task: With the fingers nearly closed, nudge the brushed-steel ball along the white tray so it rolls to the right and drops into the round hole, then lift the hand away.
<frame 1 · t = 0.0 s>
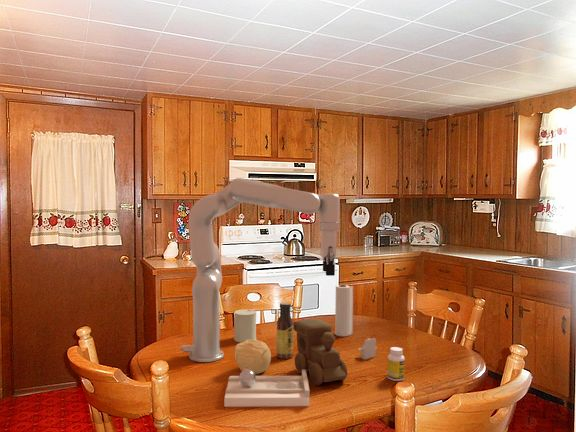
hand: (328, 273, 170), 31 cm above the table, fingers open, 9 cm apart
architectural model: (368, 359, 171), on the table
can: (245, 339, 191), on the table
white tray: (267, 394, 138), on the table
supplement bottle: (395, 378, 151), on the table
sauce bottle: (284, 357, 171), on the table
wooden toy train: (319, 376, 152), on the table
sculpture: (253, 371, 157), on the table
steel ball: (247, 377, 137), point 5 cm above the table, touching white tray
paper towel roll: (343, 335, 199), on the table
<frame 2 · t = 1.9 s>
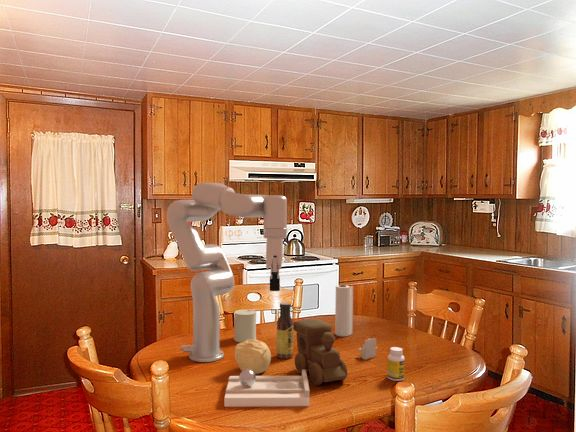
hand: (274, 288, 150), 29 cm above the table, fingers open, 3 cm apart
nothing on the table moved.
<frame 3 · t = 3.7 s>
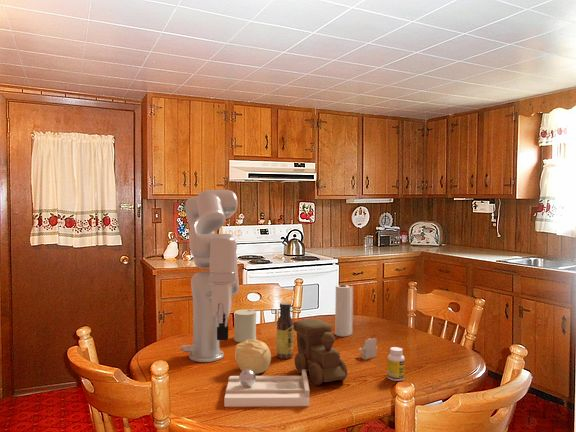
hand: (222, 339, 136), 17 cm above the table, fingers closed
nothing on the table moved.
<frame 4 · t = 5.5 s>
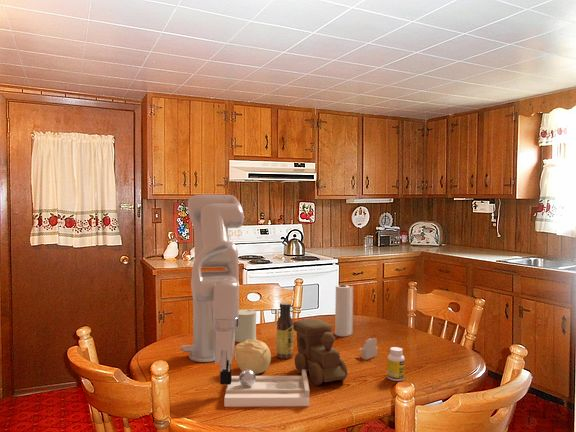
hand: (225, 383, 137), 3 cm above the table, fingers closed
nothing on the table moved.
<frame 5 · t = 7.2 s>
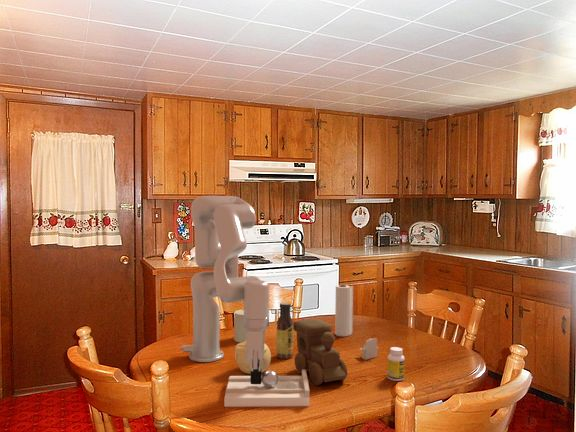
hand: (256, 383, 138), 3 cm above the table, fingers closed
steel ball: (269, 379, 137), point 5 cm above the table, tilted 156°, touching white tray
everything else where it was.
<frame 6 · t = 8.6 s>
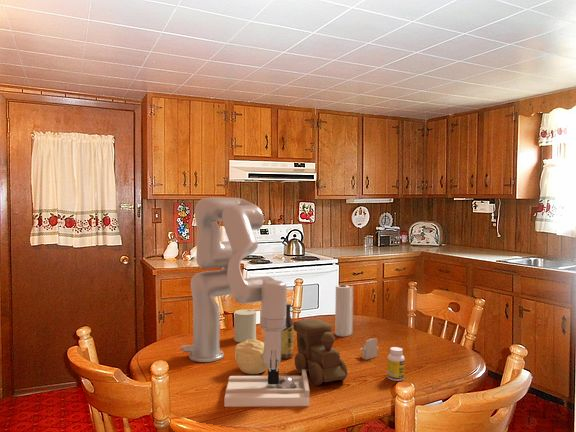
hand: (273, 383, 138), 3 cm above the table, fingers closed
steel ball: (286, 385, 139), point 2 cm above the table, tilted 65°
everything else where it was.
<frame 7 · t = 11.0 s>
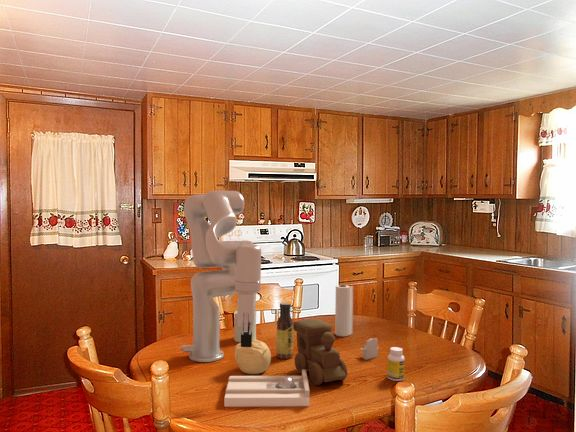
hand: (246, 346, 138), 14 cm above the table, fingers closed
nothing on the table moved.
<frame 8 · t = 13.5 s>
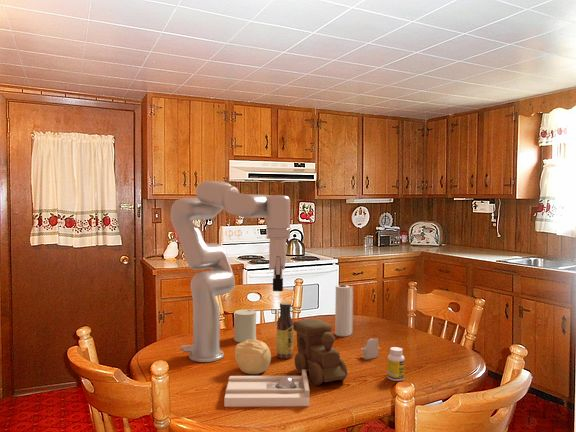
hand: (277, 290, 148), 29 cm above the table, fingers closed
nothing on the table moved.
at the end: steel ball 0.7 cm from the target spot on the white tray, point 2.5 cm above the white tray's base; the gripper is holding nothing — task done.
